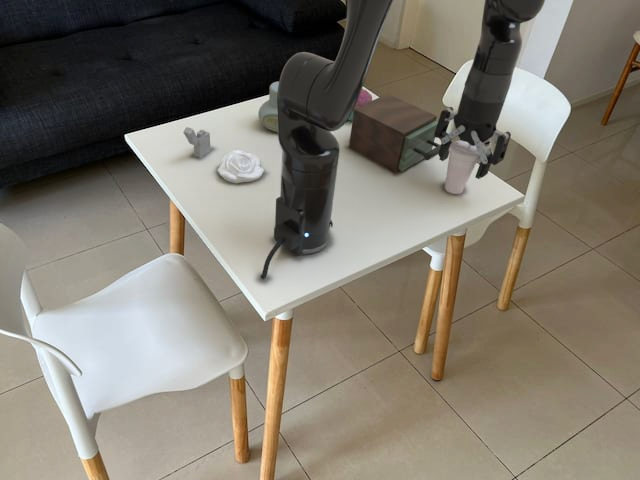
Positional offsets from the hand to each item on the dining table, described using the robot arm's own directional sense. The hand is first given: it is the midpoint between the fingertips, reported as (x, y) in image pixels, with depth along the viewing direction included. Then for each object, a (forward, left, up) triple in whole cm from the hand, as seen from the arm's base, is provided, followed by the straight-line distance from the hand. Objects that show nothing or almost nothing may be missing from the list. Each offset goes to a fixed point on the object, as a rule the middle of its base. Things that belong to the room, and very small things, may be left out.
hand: (460, 167), depth 107 cm
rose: (-30, +34, -6) cm, 45 cm away
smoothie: (0, 0, -6) cm, 6 cm away
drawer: (+1, +15, -4) cm, 15 cm away
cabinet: (+1, +19, -5) cm, 19 cm away
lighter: (-33, +45, -6) cm, 56 cm away
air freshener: (-10, +43, -6) cm, 44 cm away
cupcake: (+7, +35, -6) cm, 36 cm away
